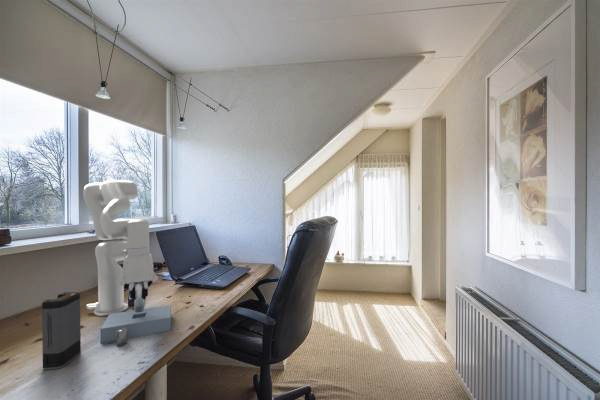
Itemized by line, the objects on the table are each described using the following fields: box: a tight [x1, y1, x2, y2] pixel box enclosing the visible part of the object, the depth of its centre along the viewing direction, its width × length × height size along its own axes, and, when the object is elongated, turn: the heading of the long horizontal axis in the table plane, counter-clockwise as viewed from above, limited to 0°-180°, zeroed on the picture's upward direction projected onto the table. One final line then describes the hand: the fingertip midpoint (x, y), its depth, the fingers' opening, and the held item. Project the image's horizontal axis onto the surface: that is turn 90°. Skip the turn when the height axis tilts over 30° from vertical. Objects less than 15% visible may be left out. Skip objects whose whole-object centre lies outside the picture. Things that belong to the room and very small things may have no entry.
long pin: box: [133, 282, 145, 313], centre depth 107 cm, size 3×3×13 cm
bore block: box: [99, 304, 172, 344], centre depth 107 cm, size 22×14×5 cm, turn 114°
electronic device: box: [41, 291, 82, 370], centre depth 86 cm, size 9×6×20 cm, turn 5°
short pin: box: [115, 328, 128, 348], centre depth 95 cm, size 3×3×5 cm
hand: (139, 298), depth 107 cm, fingers closed on long pin, 3 cm apart
